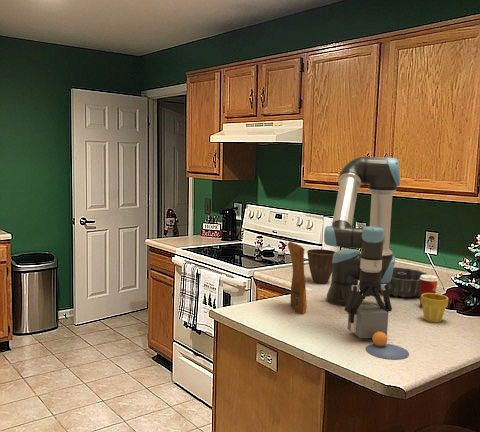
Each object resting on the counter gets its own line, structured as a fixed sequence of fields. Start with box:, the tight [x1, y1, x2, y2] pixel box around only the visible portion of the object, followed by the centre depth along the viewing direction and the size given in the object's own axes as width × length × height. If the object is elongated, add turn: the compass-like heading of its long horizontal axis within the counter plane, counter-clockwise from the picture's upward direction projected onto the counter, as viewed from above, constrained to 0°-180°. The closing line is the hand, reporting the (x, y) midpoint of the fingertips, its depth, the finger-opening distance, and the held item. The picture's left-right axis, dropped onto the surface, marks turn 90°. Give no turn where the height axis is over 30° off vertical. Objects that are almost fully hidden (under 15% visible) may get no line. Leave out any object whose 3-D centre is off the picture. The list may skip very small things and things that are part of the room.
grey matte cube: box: [347, 303, 389, 339], centre depth 188 cm, size 10×10×9 cm
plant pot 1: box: [307, 248, 336, 285], centre depth 267 cm, size 15×15×16 cm
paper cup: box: [419, 274, 439, 309], centre depth 228 cm, size 8×8×14 cm
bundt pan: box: [379, 266, 430, 299], centre depth 251 cm, size 26×26×10 cm
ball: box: [372, 332, 388, 347], centre depth 179 cm, size 5×5×5 cm
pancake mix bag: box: [287, 241, 308, 315], centre depth 219 cm, size 7×19×28 cm, turn 6°
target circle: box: [365, 343, 410, 361], centre depth 175 cm, size 14×14×1 cm
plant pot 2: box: [421, 293, 449, 323], centre depth 211 cm, size 10×10×10 cm
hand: (366, 330), depth 188 cm, fingers closed on grey matte cube, 10 cm apart
